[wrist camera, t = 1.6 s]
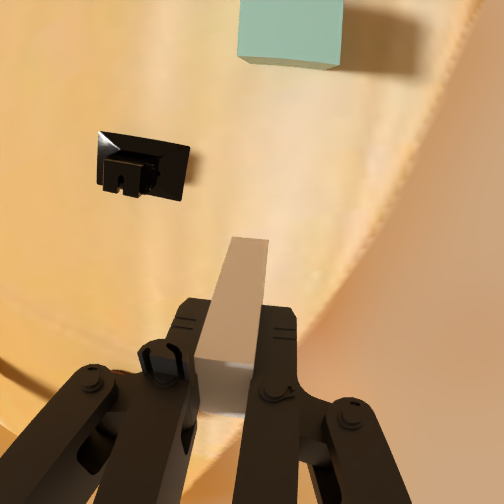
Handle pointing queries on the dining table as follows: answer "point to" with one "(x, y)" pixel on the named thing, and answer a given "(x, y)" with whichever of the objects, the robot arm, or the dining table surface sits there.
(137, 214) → the dining table surface
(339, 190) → the dining table surface
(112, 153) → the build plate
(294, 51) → the teal block
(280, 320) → the robot arm
